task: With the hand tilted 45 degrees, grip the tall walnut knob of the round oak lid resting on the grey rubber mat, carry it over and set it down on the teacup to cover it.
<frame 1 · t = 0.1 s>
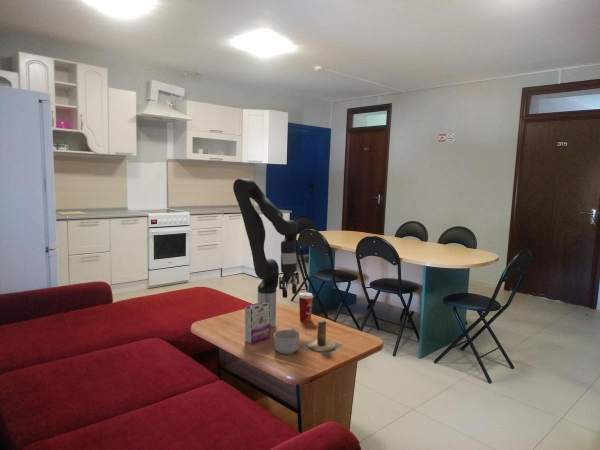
hand: (289, 295, 192), 17 cm above the table, tool pointing down, fingers open, 8 cm apart
rubber mat: (321, 347, 174), on the table
paper cup: (305, 320, 210), on the table
oak lid: (321, 346, 174), resting on rubber mat
candy bar box: (257, 340, 181), on the table
teacup: (288, 350, 170), on the table
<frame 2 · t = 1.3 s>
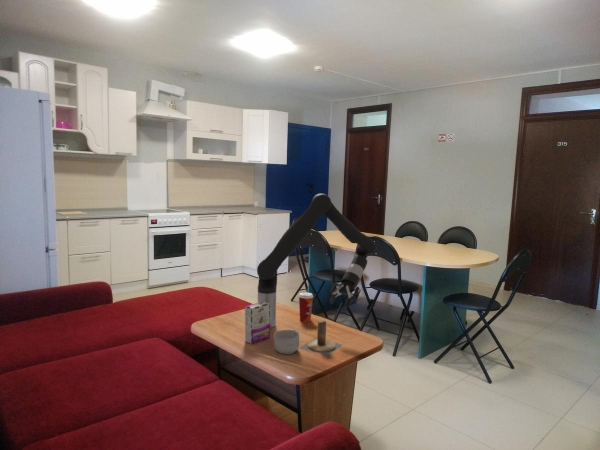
hand: (338, 304, 181), 17 cm above the table, tool tilted 45°, fingers open, 8 cm apart
nothing on the table moved.
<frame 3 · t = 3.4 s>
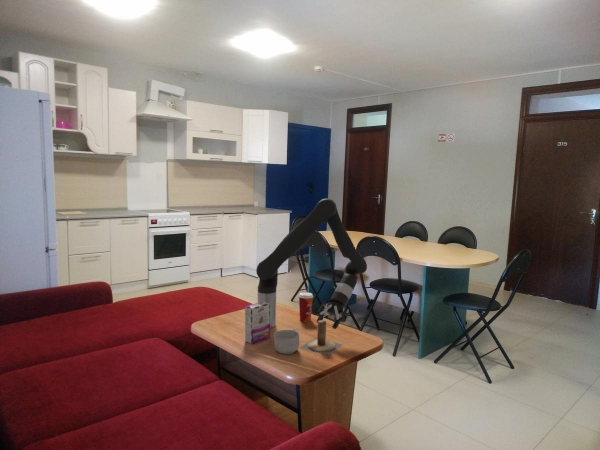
hand: (325, 325, 176), 9 cm above the table, tool tilted 45°, fingers open, 8 cm apart
nothing on the table moved.
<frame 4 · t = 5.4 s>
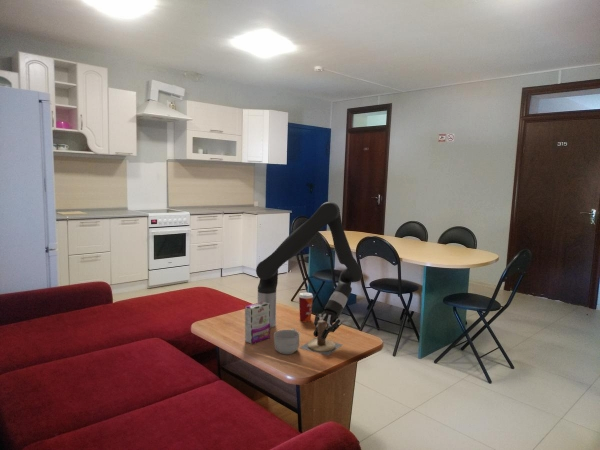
hand: (318, 337, 172), 5 cm above the table, tool tilted 45°, fingers closed on oak lid, 3 cm apart
oak lid: (321, 346, 174), resting on rubber mat, touching gripper
everything else where it was.
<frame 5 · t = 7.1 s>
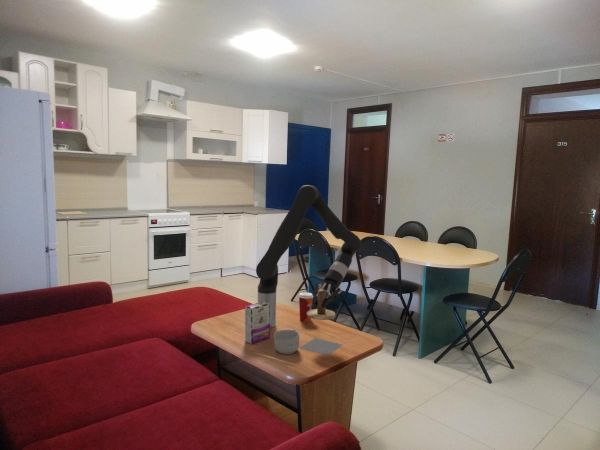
hand: (318, 305, 171), 19 cm above the table, tool tilted 45°, fingers closed on oak lid, 3 cm apart
oak lid: (321, 315, 173), point 14 cm above the table, touching gripper
everything else where it was.
when the fingers open (14 cm above the table, at t = 9.1 s): oak lid drops 2 cm, resting on teacup.
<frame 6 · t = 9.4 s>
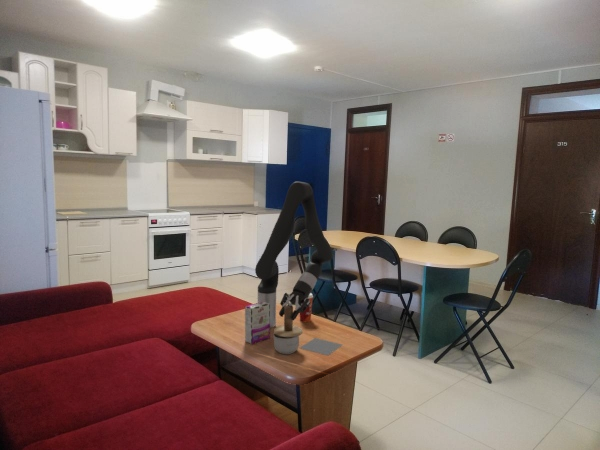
hand: (286, 317, 167), 15 cm above the table, tool tilted 45°, fingers open, 6 cm apart
oak lid: (288, 332, 170), point 8 cm above the table, touching teacup
teacup: (288, 350, 170), on the table, touching oak lid
everything else where it was.
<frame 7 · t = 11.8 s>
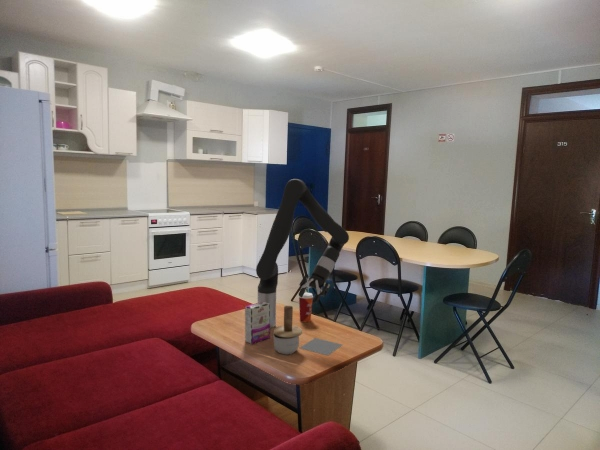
hand: (307, 299, 179), 19 cm above the table, tool tilted 35°, fingers open, 8 cm apart
nothing on the table moved.
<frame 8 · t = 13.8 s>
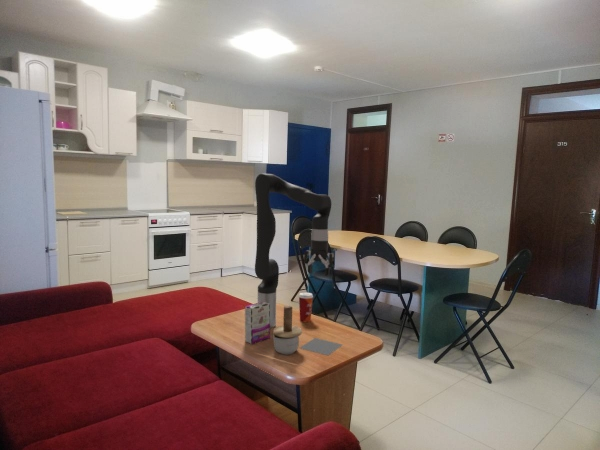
hand: (318, 274, 181), 30 cm above the table, tool pointing down, fingers open, 8 cm apart
nothing on the table moved.
at the end: oak lid 0.3 cm from the teacup (horizontally); oak lid point 7.9 cm above the table; oak lid tilted 0° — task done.
